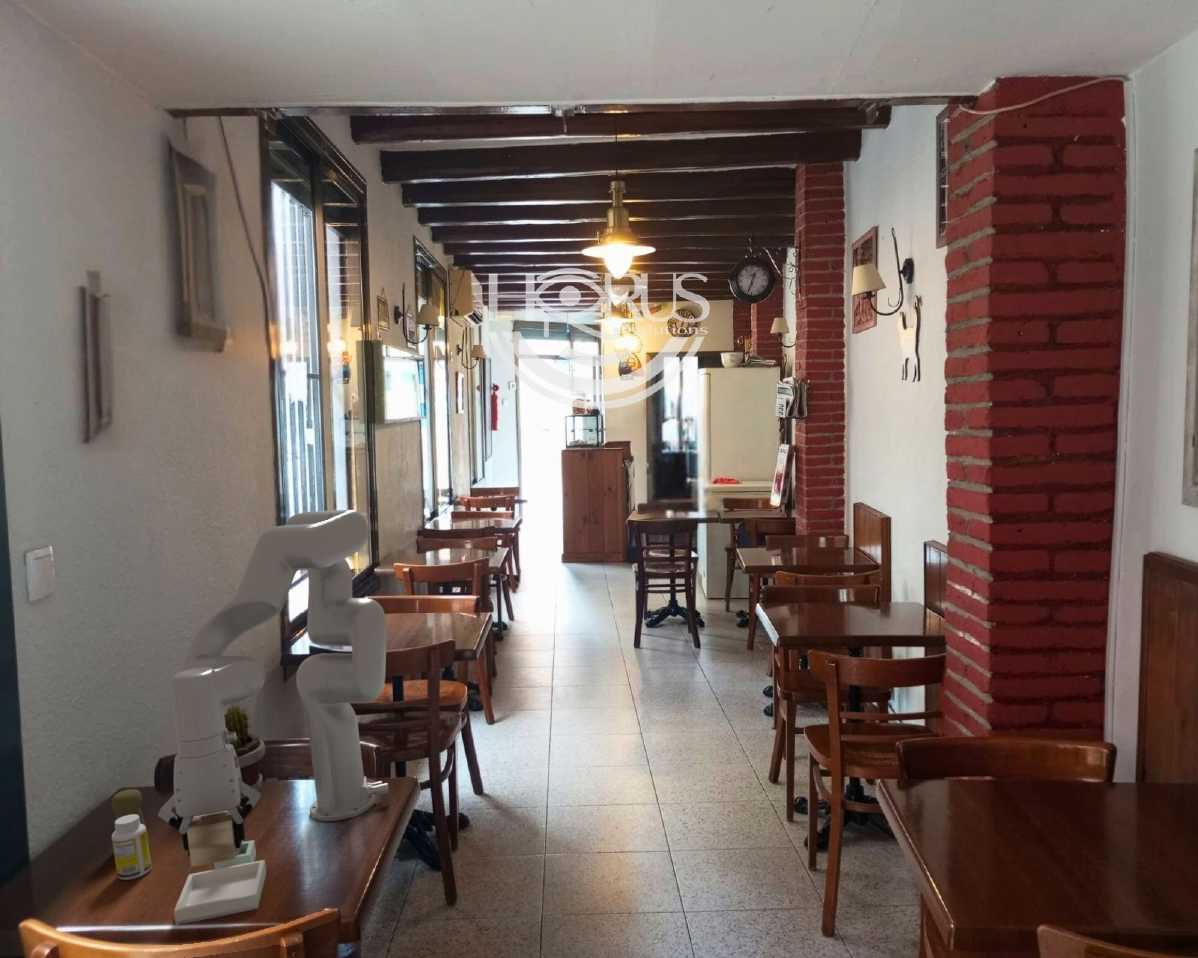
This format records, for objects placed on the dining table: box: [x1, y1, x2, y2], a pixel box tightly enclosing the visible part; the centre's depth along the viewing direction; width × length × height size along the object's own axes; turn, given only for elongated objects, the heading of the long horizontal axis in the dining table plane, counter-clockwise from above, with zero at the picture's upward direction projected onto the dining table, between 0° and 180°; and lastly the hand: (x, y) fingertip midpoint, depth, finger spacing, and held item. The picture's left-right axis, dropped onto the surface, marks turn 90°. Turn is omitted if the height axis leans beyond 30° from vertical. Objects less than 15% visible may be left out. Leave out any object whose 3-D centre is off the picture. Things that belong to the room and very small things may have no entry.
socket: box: [213, 839, 257, 869], centre depth 166 cm, size 6×6×3 cm
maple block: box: [187, 811, 238, 868], centre depth 154 cm, size 7×7×6 cm
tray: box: [173, 859, 267, 925], centre depth 155 cm, size 12×12×2 cm
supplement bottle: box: [111, 814, 152, 881], centre depth 167 cm, size 6×6×10 cm
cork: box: [111, 788, 152, 847], centre depth 178 cm, size 6×6×11 cm
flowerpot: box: [224, 702, 266, 804], centre depth 197 cm, size 14×15×20 cm
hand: (215, 847), depth 154 cm, fingers closed on maple block, 6 cm apart
